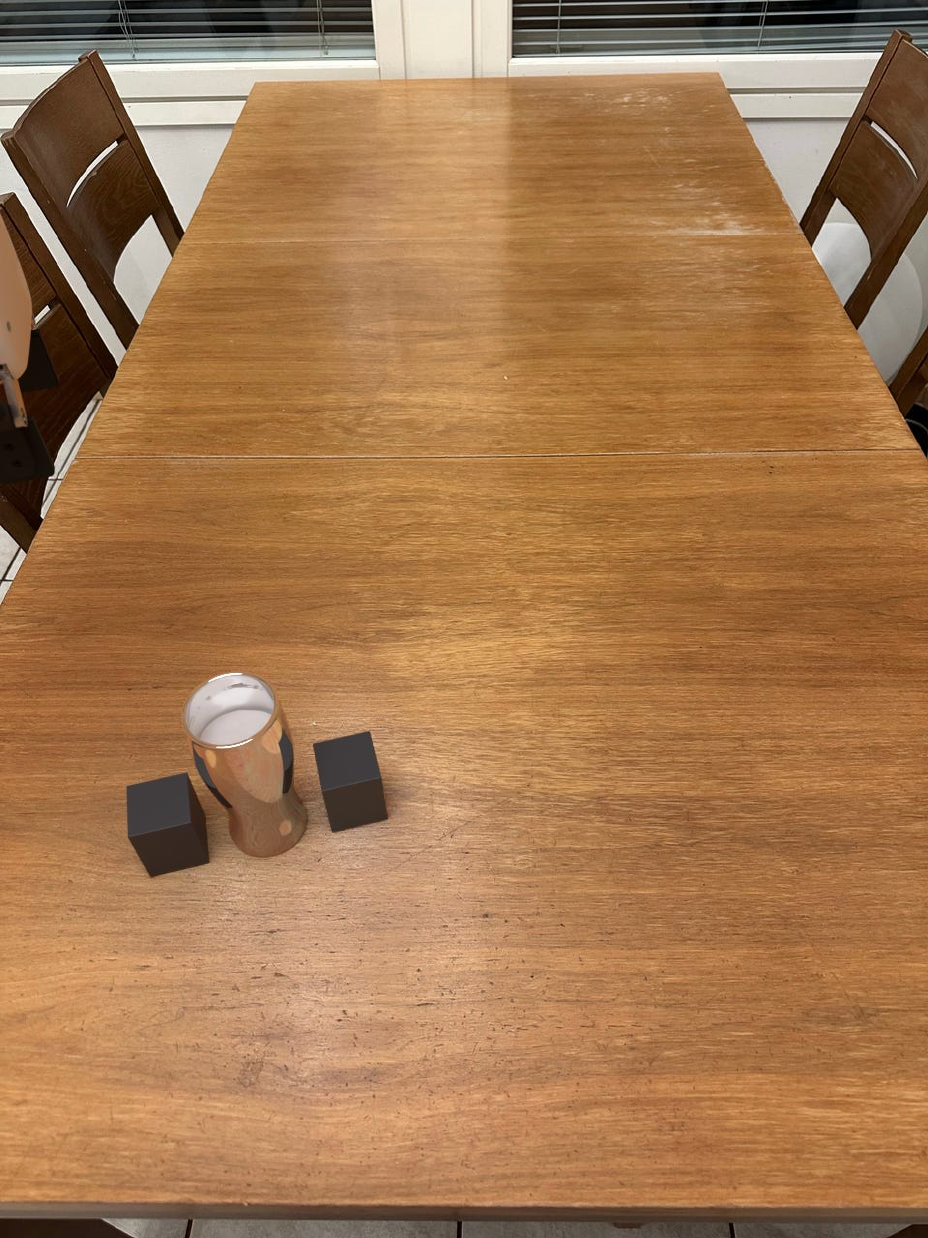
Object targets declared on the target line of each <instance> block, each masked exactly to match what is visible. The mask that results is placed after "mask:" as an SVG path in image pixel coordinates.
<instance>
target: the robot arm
mask: <svg viewBox="0 0 928 1238" xmlns="http://www.w3.org/2000/svg"><path fill="white" fill-rule="evenodd" d="M36 327H37V323H36V318H35V314H34V312H33V303H32V296H31V293H30V289H29V285H28V282H27V279H26V276H25V273H24V270H23V267H22V265H21V261H20V259H19V256H18V254H17V251H16V249H15V246H14V244H13V241H12V239H11V236H10V233H9V231H8V228H7V225H6V224H5V221H4V219H3V216H2V214H1V213H0V385H3V387H4V392H5V396H6V399H7V403H8V404H7V403H6V402H4V401H3V400H2V399H0V484H2V485H11V484H18V483H24V482H29V481H35V480H41V479H46V478H51V477H53V476H55V473H56V465H55V462H54V460H53V458H52V456H51V454H50V451H49V449H48V446H47V444H46V442H45V439H44V437H43V435H42V432H41V431H40V428H39V425H38V423H37V421H36V418H35V416H34V415H32V414H31V415H27V411H26V408H25V403H24V399H23V396H22V394H25V393H30V392H37V391H42V390H48V389H49V390H50V389H54V388H57V387H58V386H59V384H60V377H59V374H58V372H57V370H56V368H55V364H54V362H53V359H52V357H51V354H50V351H49V349H48V345H47V344H46V341H45V339H44V335H43V334H42V331H41V328H36ZM34 328H36V329H34Z"/></svg>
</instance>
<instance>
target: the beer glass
mask: <svg viewBox="0 0 928 1238" xmlns="http://www.w3.org/2000/svg"><path fill="white" fill-rule="evenodd" d="M180 722H181V726H182V729H183V731H184V736H185V739H186V743H187V746H188V751H189V753H190V756H191V759H192V762H193V765H194V766H195V769H196V770H197V773H198V775H199V777H200V778H201V780H202V781H203V783H204V785H205V786H206V788H207V789H208V790H209V792H210V793H211V794H212V795H213V797H214V798H215V799H216V800H217V802H218V803H219V804H220V805H221V806H222V807H223V808H224V810H225V811H226V813H227V816H228V831H229V835H230V838H231V840H232V842H233V844H234V845H235V846H236V847H237V848H238V850H240V851H242V852H243V854H244V853H245V854H246V855H248V856H252V857H255V858H270V857H274V856H275V857H276V856H277V855H281V854H282V853H285V852H287V851H289V850H290V849H291V848H292V847H294V845H296V844H297V843H298V841H299V840H300V839H301V838H302V836H303V834H304V833H305V830H306V828H307V823H308V814H307V813H308V811H307V808H306V806H305V803H304V802H303V800H302V799H301V797H300V796H299V794H298V793H297V791H296V788H295V745H294V740H293V736H292V731H291V728H290V725H289V721H288V718H287V716H286V712H285V710H284V708H283V706H282V703H281V701H280V699H279V694H278V692H277V689H276V688H275V686H274V685H273V684H272V683H271V682H270V681H269V680H268V679H267V678H265V677H264V676H262V675H260V674H258V673H254V672H250V671H246V670H245V671H244V670H233V671H227V672H226V671H225V672H223V673H218V674H216V675H214V676H211V677H209V678H207V679H205V680H203V681H202V682H200V683H199V684H198V685H196V687H195V688H193V689H192V691H190V693H189V694H188V696H187V697H186V699H185V700H184V702H183V705H182V708H181V712H180Z"/></svg>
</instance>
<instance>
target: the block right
mask: <svg viewBox="0 0 928 1238" xmlns="http://www.w3.org/2000/svg"><path fill="white" fill-rule="evenodd" d="M312 749H313V753H314V754H313V755H314V758H315V763H316V769H317V774H318V780H319V785H320V789H321V794H322V799H323V803H324V807H325V810H326V814H327V818H328V823H329V826H330V831H331V833H336V832H341V831H345V830H349V829H354V828H357V827H362V826H367V825H369V824H373V823H378V822H381V821H387V820H388V819H389V816H388V810H387V804H386V798H385V791H384V785H383V779H382V773H381V769H380V765H379V761H378V757H377V753H376V750H375V745H374V741H373V736H372V733H371V730H366V731H362V732H358V733H354V734H353V733H352V734H349V735H344V736H340V737H336V738H331V739H328V740H323V741H322V740H321V741H317V742H314V743H312Z"/></svg>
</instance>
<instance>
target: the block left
mask: <svg viewBox="0 0 928 1238" xmlns="http://www.w3.org/2000/svg"><path fill="white" fill-rule="evenodd" d="M125 790H126V820H127V821H126V822H127V823H126V824H127V825H126V826H127V839H128V840H129V842H130V844H131V846H132V848H133V849H134V851H135V852H136V854H137V856H138V858H139V860H140V862H141V863H142V865H143V867H144V869H145V870H146V872H147V874H148V876H149V877H150V878H152V877H156V876H161V875H164V874H165V875H166V874H169V873H173V872H176V871H181V870H185V869H188V868H193V867H197V866H198V867H199V866H201V865H205V864H209V863H210V853H209V844H208V831H207V821H206V813H205V811H204V808H203V806H202V804H201V801H200V798H199V797H198V794H197V792H196V790H195V787H194V785H193V782H192V780H191V778H190V775H189V773H188V772H182V773H178V774H173V775H170V776H164V777H160V778H157V779H151V780H147V781H146V780H145V781H142V782H138V783H134V784H129V785H126V789H125Z"/></svg>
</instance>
